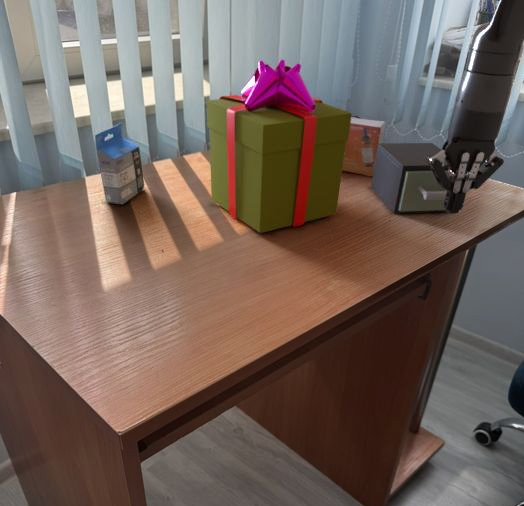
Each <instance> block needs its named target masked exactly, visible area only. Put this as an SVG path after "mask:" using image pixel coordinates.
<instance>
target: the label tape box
mask: <svg viewBox="0 0 524 506" xmlns="http://www.w3.org/2000/svg"><path fill="white" fill-rule="evenodd" d="M122 130H123V129H122V123H117V124H116V125H114V126H111V127H109V128H106V129H105V130H102V131H100V132H98V133H96V134H95V135H94V141H95V149H96V155H97V161H98V166H99V171H100V178H101V182H102V188H103V194H104V199H105V202H106V203H111V204H113V205H114V204H116V205H124V204H126V203H127V202H128V201H130V200H131V199H132V198H134V197H135V196H136V195H138V194H140V193H141V192H142V191H143V190H145V189H146V187H145V181H144V180H145V179H144V173H143V172H144V171H143V166H142V157H141V150H140V147H139V146H138V145H137V144H135V143H133V142H132V141H130V140H128V139H126V138H125V137H123V136H122V135H123V133H122ZM109 135H110V136H111V135H112V137H110V138H108V139H106V138H107V137H108V136H109Z"/></svg>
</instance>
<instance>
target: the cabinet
mask: <svg viewBox="0 0 524 506" xmlns="http://www.w3.org/2000/svg"><path fill="white" fill-rule="evenodd" d="M441 150H442V148H440V147H438V146H437V145H436V144H434V143H433V142H400V143H399V142H396V143H395V142H393V143H391V142H390V143H385V142H384V143H383V142H382V144H378V149H377V155H376V161H375V166H374V172H373V176H372V179H371V184H370V189H371V190H372V191H373V192H374V193H375V194H376V196H377V197H378V198H379V199H380V200H381V201H382V202H383V203H384V204H385V206H386V207H387V208H388V209H389V210H390V211H391V212H392V214H395V215H396V214H422V213H423V214H425V213H448V212H447V211H446V210H432V211H401V212H400V211H399V210H398V206H399V201H400V196H401V191H402V186H403V182H404V177H405V172H406V170H431V168H430V166H429V164H428V162H427V157H428V156H429V155H433V156H435V155H436V154H437V153H439V152H440V151H441ZM444 161H445V165H444V167H443V169H449V166H448V163H447V161H446V159H445V160H444Z"/></svg>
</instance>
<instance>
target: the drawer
mask: <svg viewBox="0 0 524 506" xmlns="http://www.w3.org/2000/svg"><path fill="white" fill-rule="evenodd" d="M444 171H445V173H446V175H447V177H449V174H448V169H444ZM446 193H447V190H445V189H444V188H443V187H442V186H441V185H439V184H438V182H437V180H436V178H435V176H434V174H433V172H432V170H406V172H405V177H404V182H403V186H402V191H401V196H400V201H399V206H398V210H399V211H400V212H401V211H432V210H445V208H444V205H443V204H444V201H445V197H446Z"/></svg>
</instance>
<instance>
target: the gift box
mask: <svg viewBox="0 0 524 506" xmlns="http://www.w3.org/2000/svg"><path fill="white" fill-rule="evenodd" d="M301 68H302V65H301V64H300V63H299V62H297V63H296V64H295V65H294V66H292V67H290V66H288V65H286V61H285V59H280V61H279V62H278V63H277V65H276V67H275V68H273V67H272V66H270V65H269V64H268V63H267V64H266V63H265V62H264V61H263V60H259V61H258V67H257V68H256V69H255V71H254V72H253V73H252V75H251V76H250V78H249V79H248V81H247V83H246V84H245V85H244V87H243V89H241V95H237V94H233V95H221V96H220V97H219V98H218V99H208V100H206V116H207V117H206V119H207V121H206V122H207V123H206V124H207V125H206V126H207V128H209V153H210V154H209V155H210V157H209V158H210V190H211V191H210V194H211V195H210V196H211V197H210V199H211V201H212V202H214V203H215V204H217V205H219V206H220V207H221V208H223V209H224V210H226V211H227V212H228V214H229V216H231V217H232V218H233V219H235V220H237V221H242V222H243V223H245V224H246V225H247V226H249V227H250V228H252V229H253V230H255V231H256V232H258V233H259V234H262V233H266V232H270V231H271V232H272V231H274V230H278V229H279V230H280V229H283V228H286V227H290V228H294V227H300V226H302V225H304V224H305V223H306V222H310V221H314V220H318V219H322V218H326V217H329V216H334V215H336V214H337V211H338V204H339V196H340V189H341V182H342V174H343V171H342V166H343V159H344V151H345V143H346V140H348V138H349V130H350V123H351V116H353V115H352V112H350V111H347V110H344V109H341V108H339V107H335V106H332V105H331V104H327V103H324V102H323V100H321V99H319V98H316V97H314V96H312V95H311V93H310V90H309V89H308V87H307V85H306V83H305V81H304V78H303V76H302V74H301Z"/></svg>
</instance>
